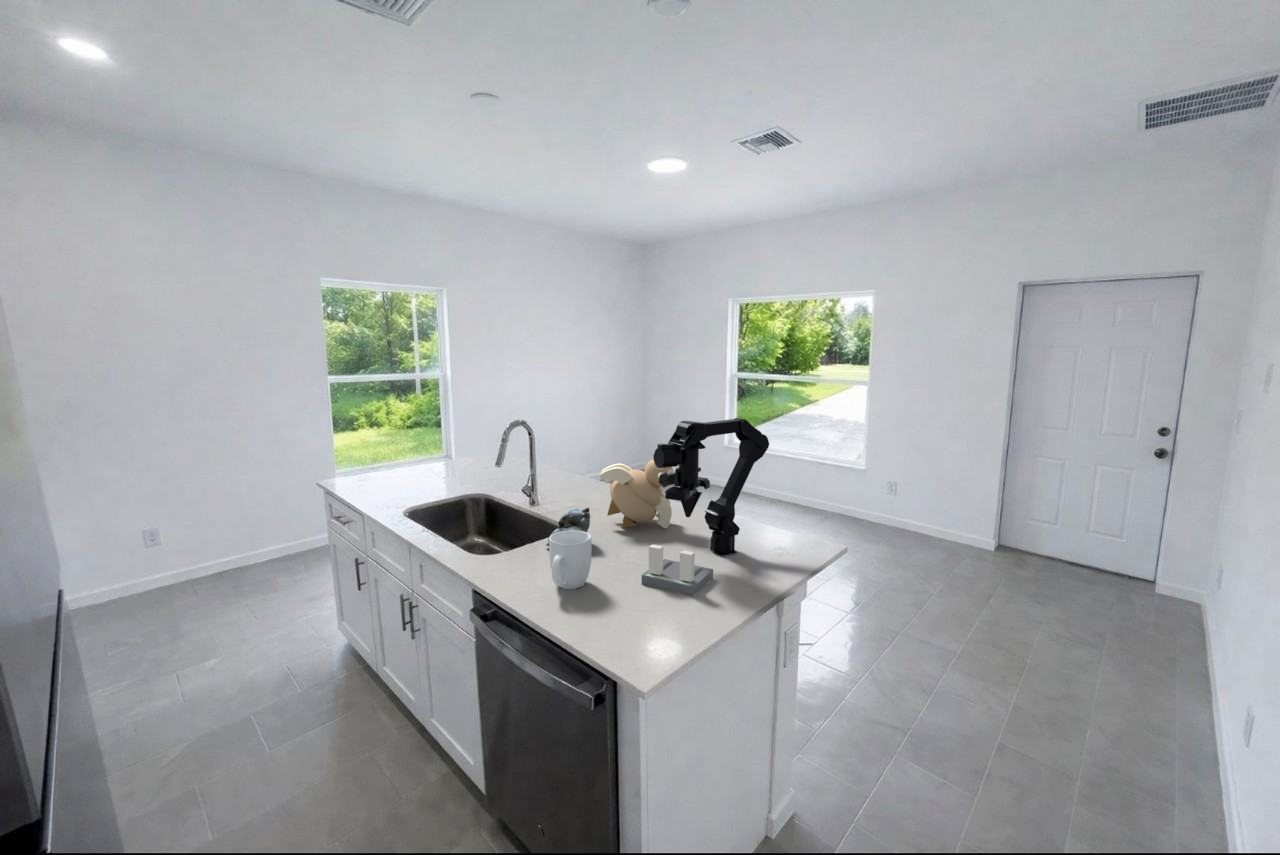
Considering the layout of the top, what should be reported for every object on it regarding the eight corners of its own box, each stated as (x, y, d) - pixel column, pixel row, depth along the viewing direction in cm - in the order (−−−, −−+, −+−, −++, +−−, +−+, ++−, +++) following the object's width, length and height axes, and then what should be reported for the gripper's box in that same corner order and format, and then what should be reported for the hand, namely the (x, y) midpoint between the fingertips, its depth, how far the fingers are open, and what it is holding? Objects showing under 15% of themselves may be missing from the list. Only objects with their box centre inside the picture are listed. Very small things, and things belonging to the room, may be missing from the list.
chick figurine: (634, 437, 177) (636, 428, 199) (579, 499, 180) (587, 483, 202) (702, 496, 179) (696, 480, 201) (646, 557, 182) (646, 535, 205)
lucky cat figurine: (539, 545, 171) (548, 503, 176) (571, 553, 178) (578, 511, 182) (563, 545, 160) (571, 499, 164) (596, 553, 166) (604, 508, 171)
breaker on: (682, 576, 140) (683, 550, 139) (694, 579, 139) (694, 552, 138) (679, 579, 139) (679, 552, 138) (690, 582, 137) (691, 555, 136)
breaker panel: (664, 567, 154) (664, 558, 154) (713, 577, 147) (713, 568, 146) (641, 583, 143) (641, 574, 143) (693, 596, 136) (693, 586, 135)
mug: (575, 602, 132) (574, 551, 130) (535, 596, 136) (533, 546, 134) (598, 578, 146) (597, 532, 145) (561, 573, 150) (560, 528, 148)
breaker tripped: (652, 570, 145) (652, 544, 144) (663, 572, 143) (663, 546, 142) (648, 572, 143) (648, 546, 142) (659, 575, 141) (659, 548, 140)
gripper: (677, 456, 168) (677, 505, 170) (648, 467, 152) (648, 521, 154) (711, 460, 163) (710, 510, 165) (684, 471, 146) (683, 527, 149)
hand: (688, 516), depth 158 cm, fingers closed
